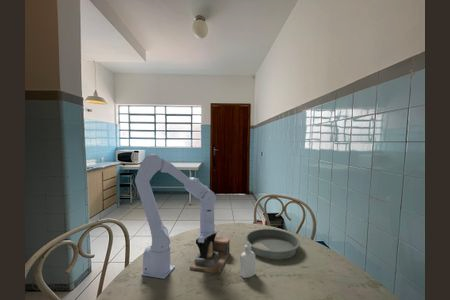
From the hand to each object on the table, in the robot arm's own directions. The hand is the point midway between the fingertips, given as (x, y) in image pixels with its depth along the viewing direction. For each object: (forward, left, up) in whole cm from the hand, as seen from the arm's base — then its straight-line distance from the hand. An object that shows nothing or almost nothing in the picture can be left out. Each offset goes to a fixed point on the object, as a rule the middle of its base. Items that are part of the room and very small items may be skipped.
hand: (207, 252), depth 85 cm
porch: (+1, +2, -4) cm, 5 cm away
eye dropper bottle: (+17, -4, -4) cm, 18 cm away
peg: (0, 0, -3) cm, 3 cm away
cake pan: (+25, +20, -4) cm, 32 cm away
